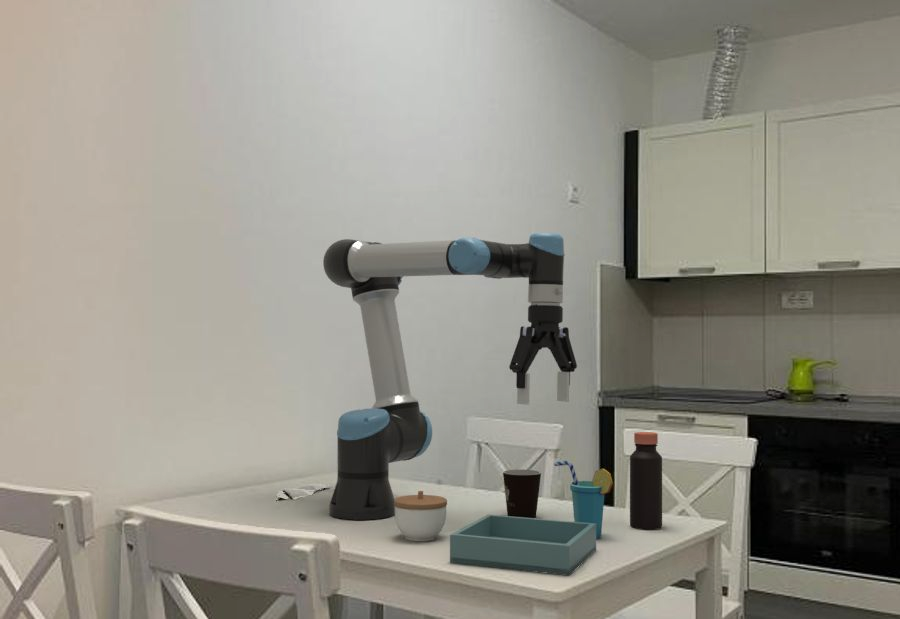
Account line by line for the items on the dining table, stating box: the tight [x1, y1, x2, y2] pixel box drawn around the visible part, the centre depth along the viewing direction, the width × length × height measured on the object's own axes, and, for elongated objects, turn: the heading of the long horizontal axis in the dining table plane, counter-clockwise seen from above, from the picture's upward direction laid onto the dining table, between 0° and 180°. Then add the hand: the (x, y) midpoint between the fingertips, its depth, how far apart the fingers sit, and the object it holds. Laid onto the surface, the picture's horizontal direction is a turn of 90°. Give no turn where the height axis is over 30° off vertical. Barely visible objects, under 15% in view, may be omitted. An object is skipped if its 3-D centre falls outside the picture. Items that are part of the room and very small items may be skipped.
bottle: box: [629, 431, 663, 531], centre depth 194 cm, size 7×7×20 cm
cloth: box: [277, 483, 331, 500], centre depth 234 cm, size 26×14×2 cm, turn 147°
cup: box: [553, 460, 614, 540], centre depth 185 cm, size 14×8×15 cm, turn 53°
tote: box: [449, 514, 597, 576], centre depth 168 cm, size 22×20×5 cm
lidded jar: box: [394, 490, 448, 542], centre depth 183 cm, size 11×11×9 cm
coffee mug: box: [502, 468, 542, 519], centre depth 206 cm, size 12×9×10 cm
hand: (543, 402), depth 196 cm, fingers open, 13 cm apart
